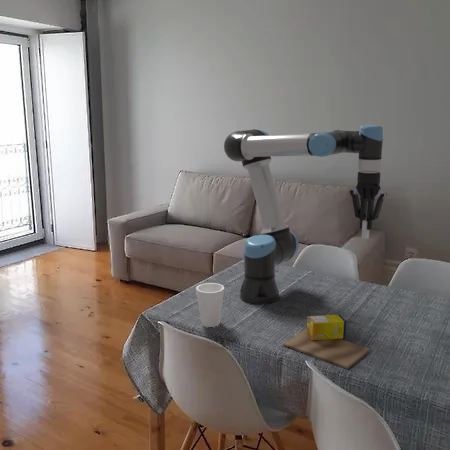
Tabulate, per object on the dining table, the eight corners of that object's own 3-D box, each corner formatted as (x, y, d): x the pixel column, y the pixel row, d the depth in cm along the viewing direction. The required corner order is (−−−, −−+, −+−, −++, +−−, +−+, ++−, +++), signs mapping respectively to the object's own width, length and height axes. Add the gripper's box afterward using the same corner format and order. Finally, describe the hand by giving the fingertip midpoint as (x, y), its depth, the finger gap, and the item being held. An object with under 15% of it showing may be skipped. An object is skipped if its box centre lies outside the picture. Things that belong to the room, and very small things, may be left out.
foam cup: (228, 320, 176) (228, 284, 173) (219, 331, 168) (218, 294, 164) (202, 316, 179) (202, 281, 176) (192, 327, 171) (191, 291, 168)
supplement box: (339, 331, 165) (306, 333, 164) (339, 313, 164) (307, 315, 163) (345, 339, 160) (311, 341, 158) (346, 321, 158) (312, 323, 157)
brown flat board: (282, 345, 157) (282, 343, 157) (307, 330, 167) (307, 328, 167) (347, 369, 143) (347, 366, 143) (369, 351, 153) (369, 348, 153)
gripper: (392, 171, 172) (387, 239, 177) (356, 168, 180) (353, 233, 186) (382, 174, 166) (378, 243, 172) (346, 171, 175) (343, 237, 180)
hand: (365, 238), depth 179 cm, fingers closed
